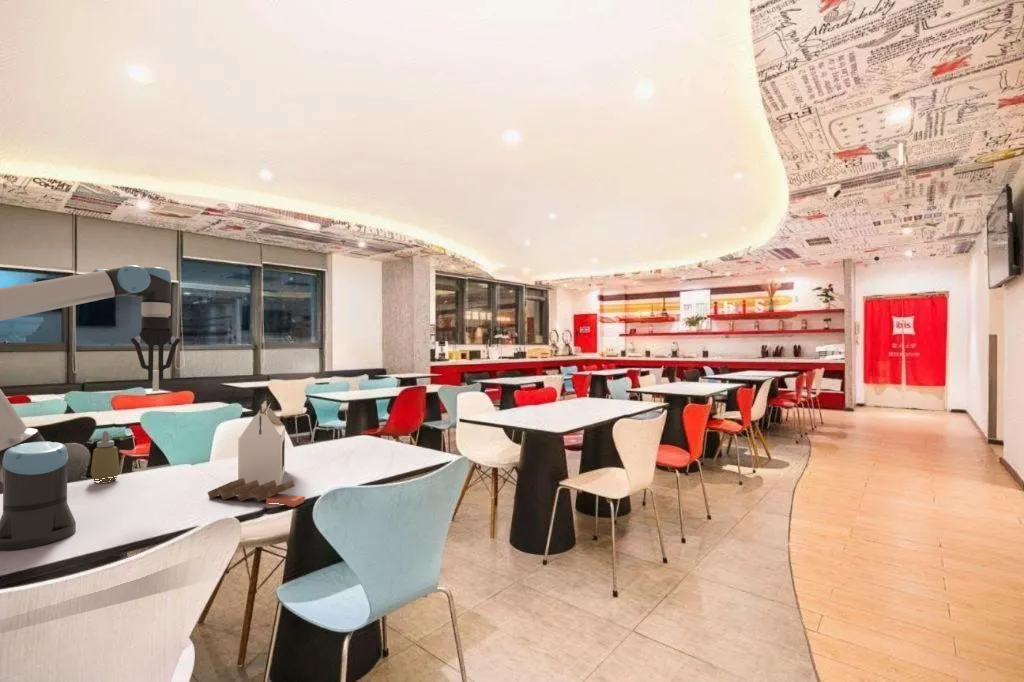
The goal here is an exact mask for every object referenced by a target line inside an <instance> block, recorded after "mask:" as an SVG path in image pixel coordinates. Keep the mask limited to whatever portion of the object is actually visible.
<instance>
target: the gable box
mask: <svg viewBox="0 0 1024 682" xmlns="http://www.w3.org/2000/svg"><path fill="white" fill-rule="evenodd" d="M271 404H272V403H271V402H270V403H269V404H268V405H267V400H264V401H263V402H262V403H261V404H260V409H259V410H258V412H257V414H256V415H254V416H253V417H252V419H251V421H249V423H248V425H247V426H246V428H245V430H244V431H243V432H242V434H240V436H239V437H238V442H237V444H238V447H237V448H238V450H237V451H238V452H237V453H238V456H237V458H238V459H237V460H238V461H237V465H238V467H237V470H238V471H237V480H238V479H241V478H244V480H245V483H246V484H247V483H249V482H252V481H255V480H258V483H259V486H260V485H262V484H265V483H267V482H270V481H273V480H275V483H276V485H277V486H278V485H281V484H283V479H284V476H285V475H284V474H285V471H286V470H285V469H286V468H285V467H286V466H285V465H286V459H285V457H286V426H285V425H284V423H282V421H281V420H280V419H279V417H278V416H277V414H276V413H275V412H274V410H273V409H272V408H270V406H271Z"/></svg>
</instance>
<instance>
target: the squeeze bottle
mask: <svg viewBox="0 0 1024 682" xmlns="http://www.w3.org/2000/svg"><path fill="white" fill-rule="evenodd" d="M90 466H91V467H90V475H91V477H92V479H94V480H93V482H94V481H100V480H102V481H100V482H99V483H98V484H104V483H103V482H109V481H112V482H114V481H113V480H115V481H116V480H117V479H118V476H119V474H120V473H119V472H120V471H121V469H120V461H119V451H118V447H117V446H115V440H111V438H110V434H109V431H108V430H105V431H103V432H102V436H101V440H100V441H97V442H96V447H95V449H93V452H92V460H91V465H90ZM114 476H117V477H114ZM108 477H113V478H108ZM102 478H105V479H102ZM115 478H116V479H115ZM95 479H99V480H95ZM110 479H111V480H110ZM109 483H110V482H109Z"/></svg>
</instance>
